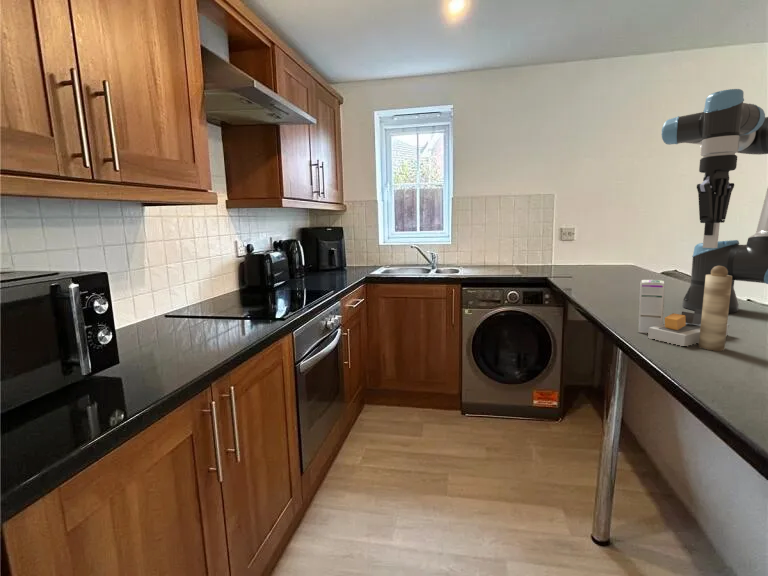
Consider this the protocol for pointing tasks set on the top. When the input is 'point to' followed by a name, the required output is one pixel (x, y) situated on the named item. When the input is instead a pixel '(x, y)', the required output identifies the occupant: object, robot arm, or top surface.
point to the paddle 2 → (698, 311)
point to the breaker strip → (677, 334)
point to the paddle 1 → (675, 321)
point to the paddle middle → (692, 318)
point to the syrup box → (650, 304)
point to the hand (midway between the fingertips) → (709, 247)
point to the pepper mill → (715, 309)
